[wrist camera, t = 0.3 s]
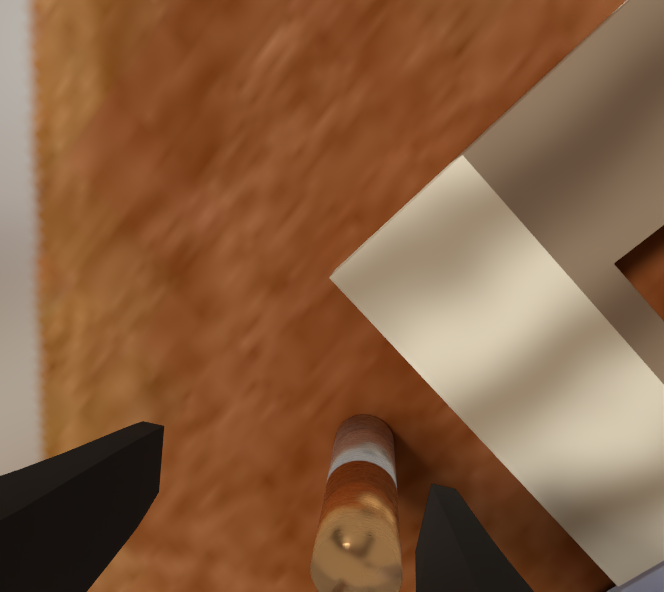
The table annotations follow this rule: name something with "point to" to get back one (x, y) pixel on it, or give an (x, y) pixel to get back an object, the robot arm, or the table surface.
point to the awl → (359, 513)
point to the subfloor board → (547, 290)
